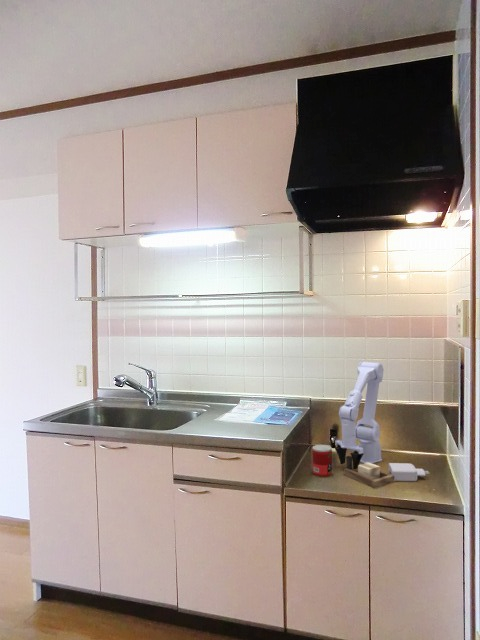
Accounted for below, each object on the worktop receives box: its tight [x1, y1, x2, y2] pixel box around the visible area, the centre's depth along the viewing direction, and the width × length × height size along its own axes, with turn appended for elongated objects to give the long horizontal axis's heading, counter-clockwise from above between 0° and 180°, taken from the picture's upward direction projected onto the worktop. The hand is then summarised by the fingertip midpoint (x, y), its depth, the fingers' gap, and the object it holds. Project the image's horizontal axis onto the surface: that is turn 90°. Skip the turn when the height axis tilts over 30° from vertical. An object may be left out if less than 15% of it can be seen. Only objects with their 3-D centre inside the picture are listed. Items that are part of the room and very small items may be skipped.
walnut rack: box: [343, 463, 395, 489], centre depth 189 cm, size 11×17×2 cm, turn 31°
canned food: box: [311, 444, 333, 478], centre depth 195 cm, size 8×8×11 cm
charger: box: [387, 462, 430, 482], centre depth 189 cm, size 5×9×15 cm
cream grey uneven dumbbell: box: [345, 455, 381, 480], centre depth 193 cm, size 6×15×6 cm, turn 31°
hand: (349, 466), depth 198 cm, fingers open, 7 cm apart
